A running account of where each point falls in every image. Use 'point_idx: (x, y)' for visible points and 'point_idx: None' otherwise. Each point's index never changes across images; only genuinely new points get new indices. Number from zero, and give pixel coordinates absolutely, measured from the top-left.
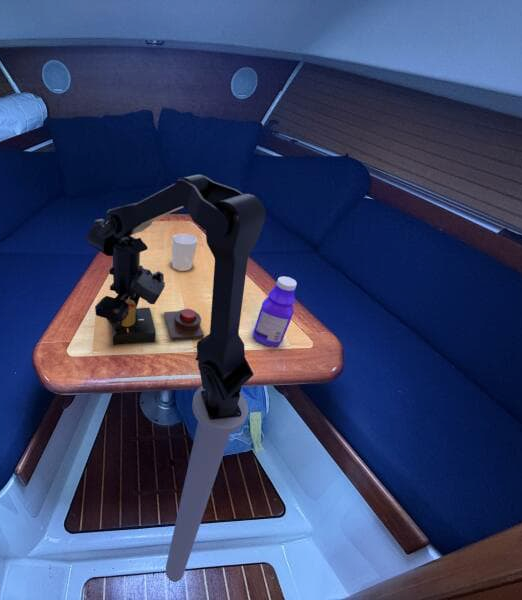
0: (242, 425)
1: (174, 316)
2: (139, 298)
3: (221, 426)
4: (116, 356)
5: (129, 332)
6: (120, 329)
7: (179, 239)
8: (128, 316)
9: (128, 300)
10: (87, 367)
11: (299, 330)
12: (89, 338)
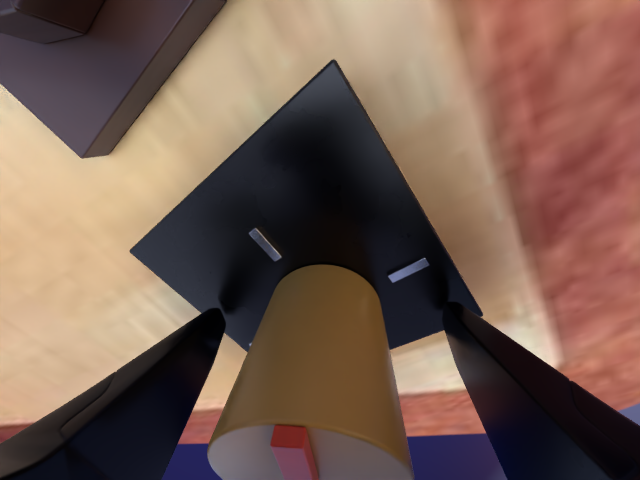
0: None
1: (47, 65)
2: (121, 373)
3: None
4: (529, 224)
5: (419, 252)
6: (468, 317)
7: None
8: (378, 355)
9: (237, 475)
10: (628, 297)
11: None
12: (439, 354)
